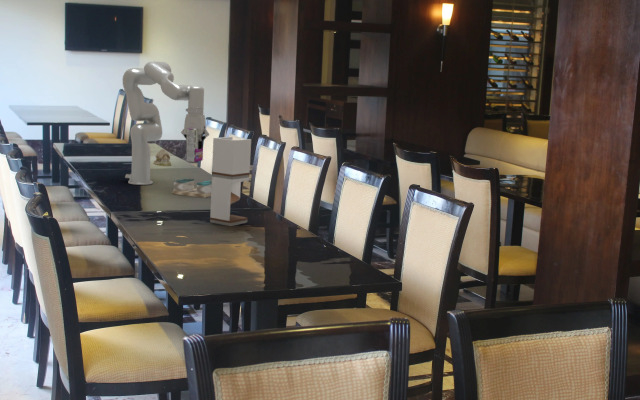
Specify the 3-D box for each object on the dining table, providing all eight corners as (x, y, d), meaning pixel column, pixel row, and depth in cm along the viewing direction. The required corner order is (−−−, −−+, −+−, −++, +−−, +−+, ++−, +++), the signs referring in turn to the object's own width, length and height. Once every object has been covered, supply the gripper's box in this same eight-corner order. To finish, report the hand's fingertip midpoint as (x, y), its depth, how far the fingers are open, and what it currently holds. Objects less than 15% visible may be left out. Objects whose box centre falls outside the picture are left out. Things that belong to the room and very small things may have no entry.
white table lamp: (230, 226, 326) (234, 140, 320) (210, 222, 331) (213, 137, 326) (247, 222, 336) (251, 139, 330) (227, 218, 341) (230, 136, 335)
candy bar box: (193, 159, 403) (194, 127, 400) (202, 160, 402) (204, 127, 399) (185, 161, 392) (186, 128, 389) (194, 162, 391) (195, 129, 388)
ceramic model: (151, 163, 507) (151, 147, 505) (168, 163, 512) (168, 147, 511) (158, 166, 495) (158, 150, 493) (175, 166, 500) (176, 150, 499)
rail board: (172, 193, 395) (172, 180, 394) (185, 190, 409) (185, 177, 408) (205, 197, 390) (205, 184, 389) (217, 194, 403) (218, 181, 402)
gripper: (176, 110, 392) (175, 147, 395) (208, 113, 387) (206, 150, 390) (183, 110, 399) (182, 146, 402) (214, 112, 394) (213, 149, 397)
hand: (194, 148), depth 396 cm, fingers closed on candy bar box, 5 cm apart
